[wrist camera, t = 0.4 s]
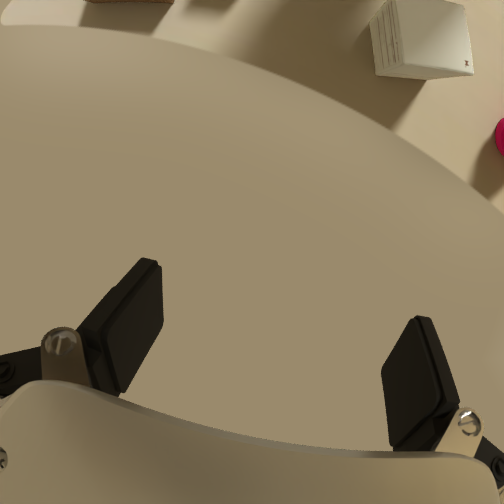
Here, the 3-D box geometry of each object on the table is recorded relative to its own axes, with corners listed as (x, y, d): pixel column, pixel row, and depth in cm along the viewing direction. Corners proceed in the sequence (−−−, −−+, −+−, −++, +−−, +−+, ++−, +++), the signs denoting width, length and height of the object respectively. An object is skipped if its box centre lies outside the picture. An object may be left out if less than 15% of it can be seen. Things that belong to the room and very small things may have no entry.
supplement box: (422, 28, 25) (466, 5, 14) (428, 81, 29) (476, 78, 18) (367, 21, 27) (392, -11, 16) (373, 75, 30) (403, 65, 19)
